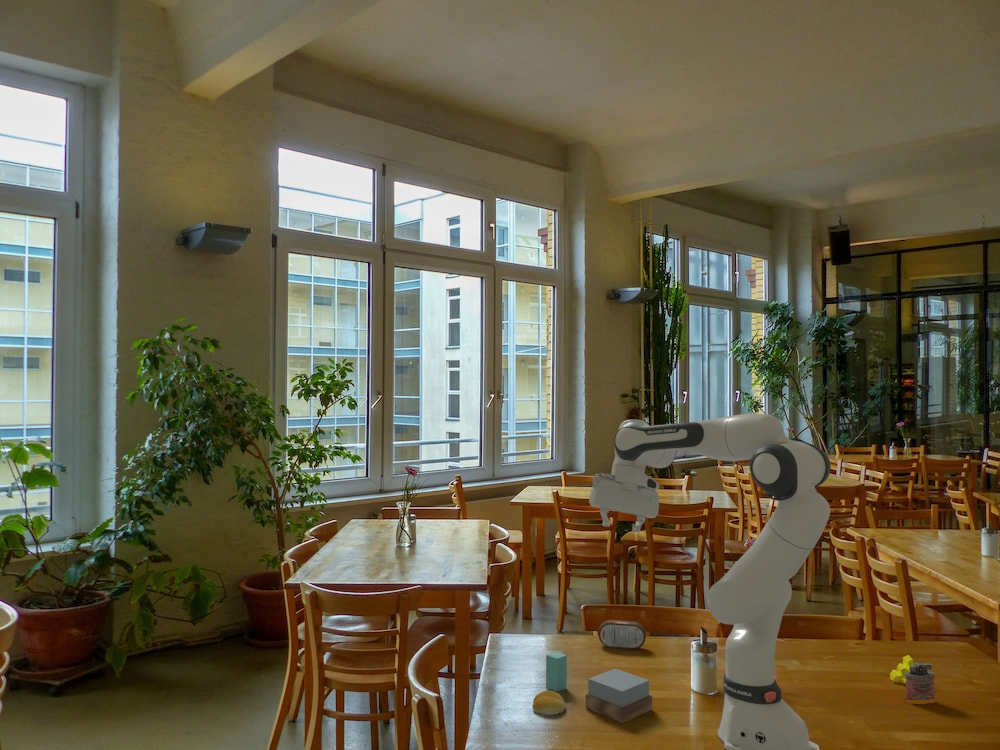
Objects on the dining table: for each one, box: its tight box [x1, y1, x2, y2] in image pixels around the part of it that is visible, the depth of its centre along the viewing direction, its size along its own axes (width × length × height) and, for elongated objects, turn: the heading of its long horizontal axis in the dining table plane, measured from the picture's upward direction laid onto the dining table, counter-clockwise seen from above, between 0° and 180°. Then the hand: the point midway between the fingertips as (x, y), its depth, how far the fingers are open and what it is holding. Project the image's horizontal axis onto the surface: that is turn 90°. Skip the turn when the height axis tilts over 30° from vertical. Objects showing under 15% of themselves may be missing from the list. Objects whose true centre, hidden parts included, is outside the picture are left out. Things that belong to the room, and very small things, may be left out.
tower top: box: [587, 668, 650, 708], centre depth 199 cm, size 11×11×4 cm
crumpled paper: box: [889, 654, 916, 683], centre depth 219 cm, size 6×8×8 cm
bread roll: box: [532, 690, 566, 716], centre depth 198 cm, size 8×9×4 cm
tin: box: [597, 619, 647, 650], centre depth 246 cm, size 15×3×8 cm, turn 80°
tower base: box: [585, 693, 653, 724], centre depth 199 cm, size 12×12×4 cm
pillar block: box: [545, 651, 568, 693], centre depth 212 cm, size 4×4×9 cm
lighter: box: [905, 662, 936, 700], centre depth 205 cm, size 8×3×10 cm, turn 99°
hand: (621, 529), depth 209 cm, fingers open, 8 cm apart
